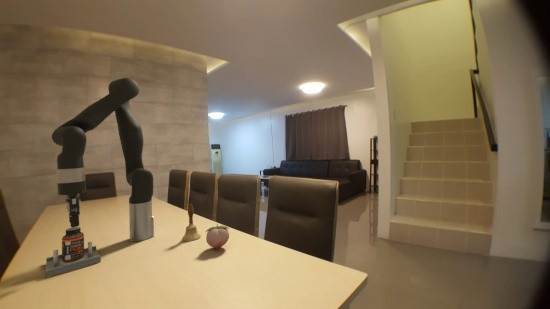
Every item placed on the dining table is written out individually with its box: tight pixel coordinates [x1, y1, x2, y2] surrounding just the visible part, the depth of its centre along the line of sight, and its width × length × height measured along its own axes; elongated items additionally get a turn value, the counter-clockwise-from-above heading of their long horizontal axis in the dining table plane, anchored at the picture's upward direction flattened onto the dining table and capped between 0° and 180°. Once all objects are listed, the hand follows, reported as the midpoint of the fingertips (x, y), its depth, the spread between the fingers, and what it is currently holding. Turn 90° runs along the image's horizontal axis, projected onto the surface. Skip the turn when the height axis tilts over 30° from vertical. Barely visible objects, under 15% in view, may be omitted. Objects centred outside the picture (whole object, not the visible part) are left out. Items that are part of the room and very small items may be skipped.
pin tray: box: [44, 241, 102, 279], centre depth 78 cm, size 14×14×6 cm
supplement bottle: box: [61, 226, 85, 262], centre depth 78 cm, size 6×6×11 cm
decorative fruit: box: [205, 223, 230, 249], centre depth 88 cm, size 9×8×10 cm
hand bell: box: [181, 203, 202, 242], centre depth 100 cm, size 8×8×16 cm
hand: (74, 224), depth 79 cm, fingers open, 8 cm apart
